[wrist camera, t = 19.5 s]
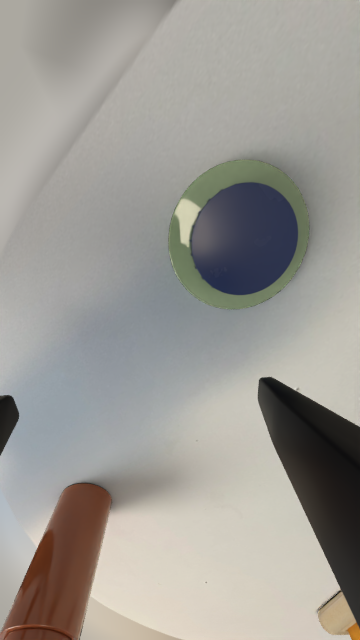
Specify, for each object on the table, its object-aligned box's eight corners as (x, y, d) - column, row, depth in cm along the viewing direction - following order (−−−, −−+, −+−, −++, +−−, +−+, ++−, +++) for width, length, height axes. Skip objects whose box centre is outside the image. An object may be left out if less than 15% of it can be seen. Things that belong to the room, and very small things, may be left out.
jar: (51, 503, 27) (-29, 675, 16) (77, 475, 25) (8, 646, 15) (94, 522, 28) (46, 692, 18) (121, 497, 27) (87, 666, 16)
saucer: (141, 250, 17) (139, 251, 16) (235, 126, 14) (239, 118, 13) (235, 328, 19) (238, 333, 18) (329, 233, 17) (338, 233, 16)
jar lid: (270, 298, 17) (278, 303, 16) (181, 283, 17) (181, 287, 16) (303, 197, 15) (316, 193, 14) (200, 175, 14) (203, 169, 13)
